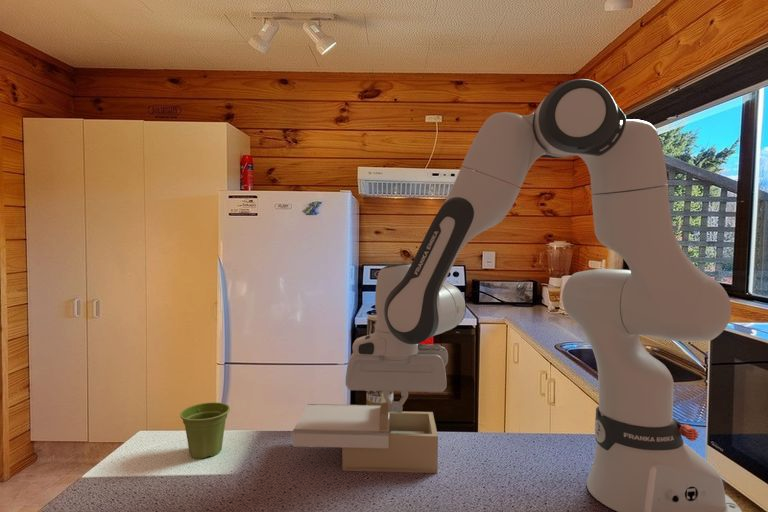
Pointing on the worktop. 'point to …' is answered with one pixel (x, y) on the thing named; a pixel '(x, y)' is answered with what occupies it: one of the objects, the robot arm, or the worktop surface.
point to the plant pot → (205, 428)
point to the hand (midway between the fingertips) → (395, 411)
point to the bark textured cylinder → (372, 396)
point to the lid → (343, 426)
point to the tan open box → (400, 447)
